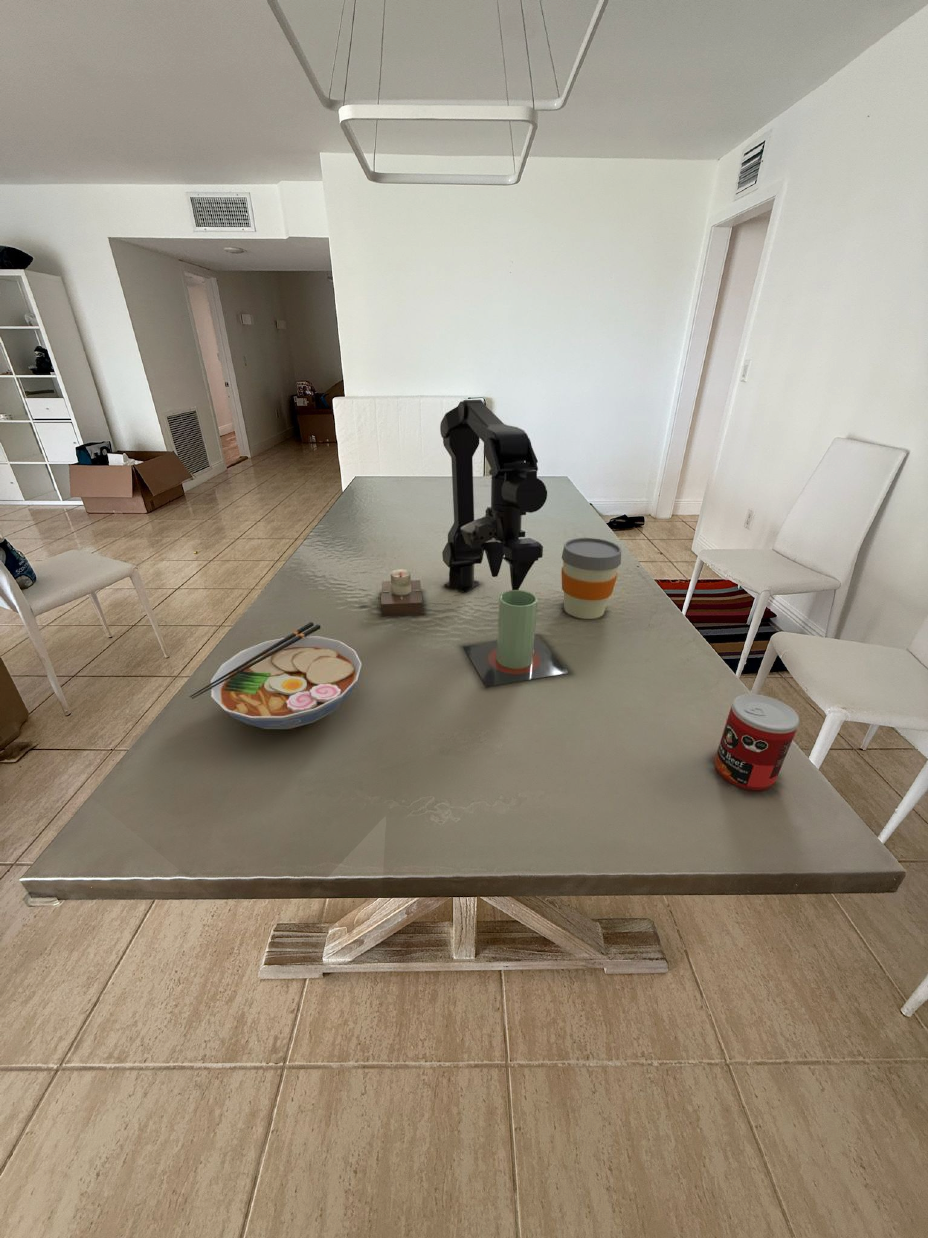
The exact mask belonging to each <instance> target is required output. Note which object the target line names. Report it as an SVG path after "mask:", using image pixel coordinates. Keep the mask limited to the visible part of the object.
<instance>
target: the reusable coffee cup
mask: <svg viewBox="0 0 928 1238" xmlns="http://www.w3.org/2000/svg"><path fill="white" fill-rule="evenodd" d="M561 560H562V567H561V571H560V572H561V573H560V574H561V590H562V591H563V609H564V611H565V612H566V613H567V614H568V615H570V616H572V617H575V618H578V619H584V620H591V619H592V620H593V619H598V618H600V617H602V616H603V615H604V614H605V611H606V608H607V604H608V601H609V598H610V597H611V596H612V594H613V592H614V588H615V585H616V582H617V579H618V569H619V566H621V564H622V548H621V546H620V545H618V544H617V543H614V542H613V541H610V540H607V539H602V538H596V537H577V538H571V539H569V540H567V541H566V542H565V543H564V544H563V549H562V554H561Z"/></svg>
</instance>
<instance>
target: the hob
mask: <svg viewBox="0 0 928 1238" xmlns="http://www.w3.org/2000/svg"><path fill="white" fill-rule="evenodd" d="M463 649H464V651H465V653H466V654H467V656H468V657H469V659H470V661H471V662H472V664H473V666H474V668H475V670H476V671H477V673H478V675H479V677H480V679H481V680H482V682H483V684H484V685H485V687H486V688H491V687H497V686H503V685H508V684H514V683H519V682H520V683H521V682H526V681H530V680H538V679H543V678H549V677H556V676H560V675H567V674H570V672H569V671H568V670H567V669H566V668H565V666H564V665H563V664H562V663H561V662H560V660H559V659H558V658H557V656H555V654H554V653H553V652H552V651H551V650H550V649H549V647H548V646H547V645H546V643H544V641H543V640H542V639H541V638H540V636H539V635H535V636H534V647H533V658H532V662H531V664H530V665H529V666H527V667H525V668H520V669H512V668H507V667H504V666H502V665H501V664H499V663H498V661H497V659H496V650H497V641H492V642H485V643H479V644H472V645H466V646H465V645H464V646H463Z"/></svg>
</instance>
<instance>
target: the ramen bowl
mask: <svg viewBox="0 0 928 1238" xmlns="http://www.w3.org/2000/svg"><path fill="white" fill-rule="evenodd" d="M320 629H321V625H320V624H316V625H315V624H314V622H313V621H309V622H308V623H306V624H305V625H304V626H302V627H300V628H298V629H297V630H295V631H294V632H292V633H290V634H289V635H287V636H285V637H282V638H277V639H272V640H266V641H264V642H260V643H259V644H255V645H253V646H251V647H248V648H245V649H243V650H241V651H239V652H238V653H236V654H235V655H234V656H232V657H230V658H229V659H228V660H226V661H225V662H223V663H222V664H221V665H220V667H219V668H218V669H217V671H216V672H215V674H214V675H213V677H212V678H211V679H210V683H209V684H207V685H206V686H204V687H203V688H201V689H200V690H198V691H195V692H194V693H193V694H191V695H189V698H191V699H192V700H193V699H195V698H197V697H199V696H201V695H202V694H204V693H206V692H208V691H209V690H210V693H211V694H210V695H211V698H212V699H213V700H214V701H215V702H216V703H217V704H218V705H219V706H220V707H221V708H222V709H223V710H224V711H225V712H226V713H227V714H228V715H229V716H231V717H232V718H234V719H235V720H237V721H239V722H241V723H244V724H247V725H249V726H254V727H257V728H261V729H264V730H290V729H294V728H295V729H296V728H298V727H302V726H306V725H309V724H313V723H315V722H317V721H319V720H321V719H323V718H324V717H326V716H328V715H330V714H332V713H333V712H334V711H335V710H336V709H337V708H338V707H339V706H340V705H342V703H343V702H344V701H345V699H347V697H348V696H350V694H351V692H352V691H353V690H354V688H355V686H356V684H357V682H358V679H359V676H360V672H361V669H362V664H363V663H362V661H361V660H360V657H359V656H358V653H357V651H356V650H355V649H353V648H352V647H350V646H348V645H347V644H346V643H344V642H342V641H341V640H338V639H333V638H329V637H323V636H320V635H312V634H313V633H315V632H317V631H318V630H320Z"/></svg>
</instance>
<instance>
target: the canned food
mask: <svg viewBox="0 0 928 1238" xmlns="http://www.w3.org/2000/svg"><path fill="white" fill-rule="evenodd" d="M799 723H800V717H799V715H798V713H797V712H796V710H794V709H793V708H792V707H791V706H789V705H788V704H786V703H784V702H783V701H780V700H779V699H776V698H774V697H770V696H768V695H767V696H766V695H762V694H757V693H756V694H754V693H746V694H741V695H738V696H737V697H735V698H734V700H733V702H732V704H731V706H730V709H729V712H728V716H727V718H726V722H725V726H724V728H723V731H722V734H721V738H720V741H719V745H718V748H717V751H716V753H715V756H714V757H715V758H714V763H715V767H716V768H715V769H716V771H717V772H718V773H719V775H720V776H721V778H723V779H724V780H726V781H727V782H729V783H730V784H732V785H734V786H735V787H738V788H741V789H744V790H750V791H764V790H767V789H769V788H771V786H773V785H774V783H775V782H776V781H777V778H778V777H779V773H780V771H781V769H782V767H783V765H784V762H785V760H786V757H787V754H788V752H789V750H790V747H791V745H792V743H793V740H794V738H795V735H796V733H797V730H798V727H799Z"/></svg>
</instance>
